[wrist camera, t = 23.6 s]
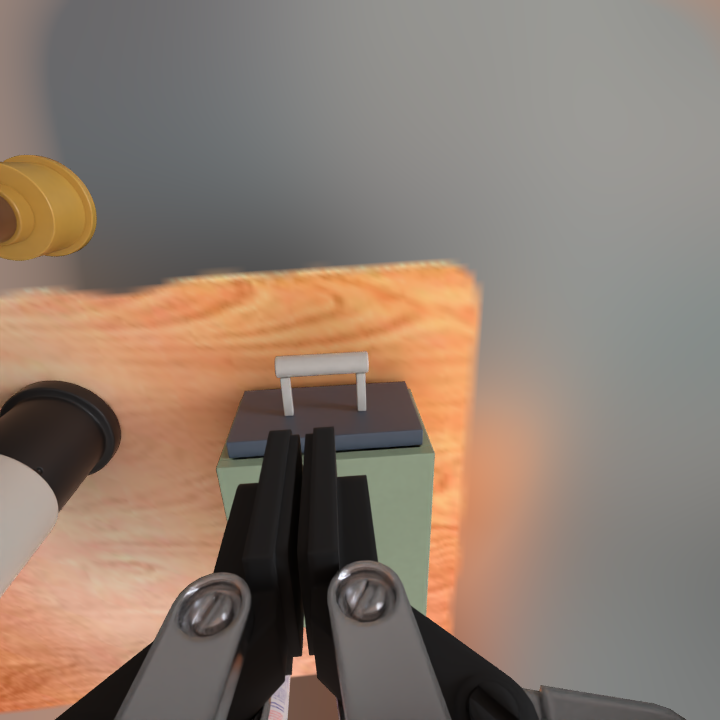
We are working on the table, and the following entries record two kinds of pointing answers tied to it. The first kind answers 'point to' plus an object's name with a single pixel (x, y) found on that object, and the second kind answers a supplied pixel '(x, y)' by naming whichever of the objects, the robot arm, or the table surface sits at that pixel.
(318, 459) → the robot arm
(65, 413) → the light fixture
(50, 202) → the bell
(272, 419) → the drawer
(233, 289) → the table surface
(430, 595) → the table surface
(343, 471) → the cabinet
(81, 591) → the table surface
